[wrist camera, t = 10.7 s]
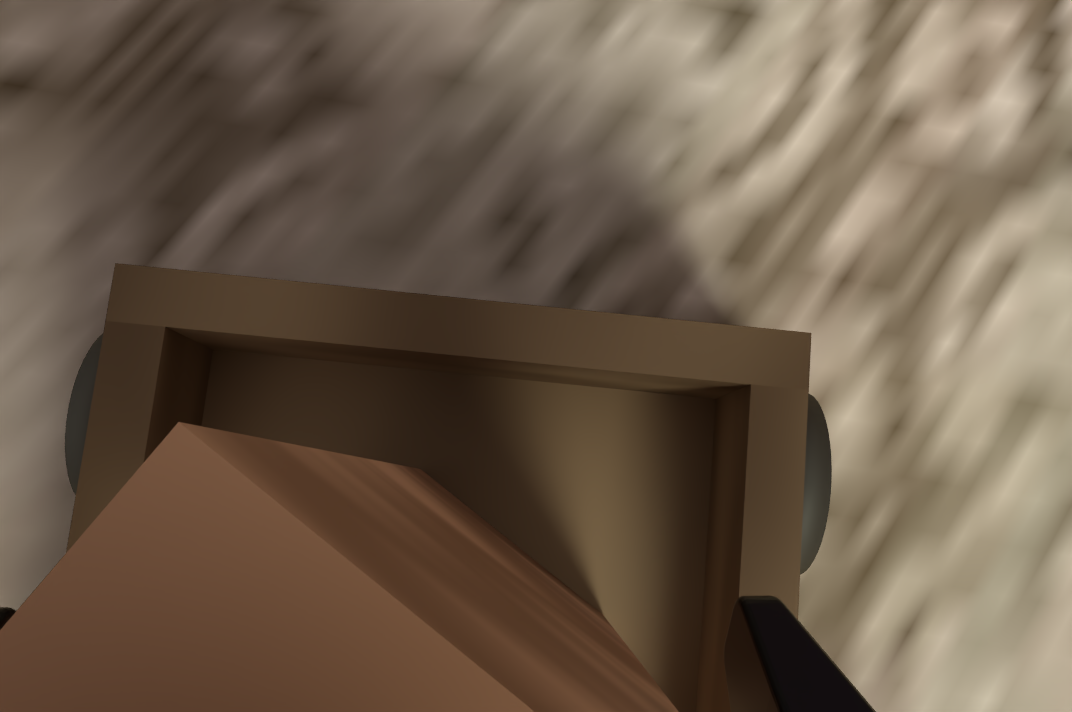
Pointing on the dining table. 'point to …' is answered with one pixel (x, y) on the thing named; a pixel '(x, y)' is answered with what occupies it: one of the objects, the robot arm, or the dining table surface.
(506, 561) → the brown square pillar
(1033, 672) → the dining table surface
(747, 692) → the robot arm
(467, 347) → the cart
